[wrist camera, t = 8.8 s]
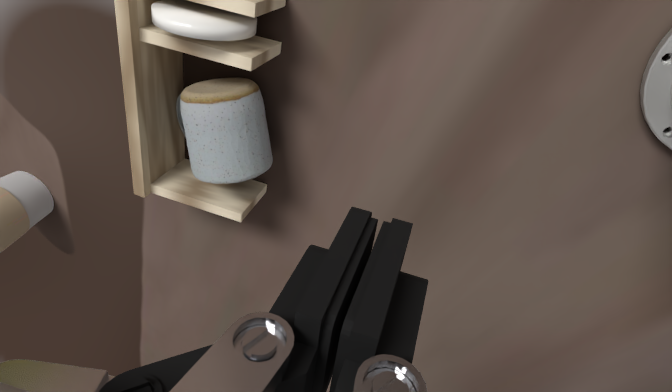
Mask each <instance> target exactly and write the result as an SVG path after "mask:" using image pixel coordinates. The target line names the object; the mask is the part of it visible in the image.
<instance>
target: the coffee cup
mask: <svg viewBox="0 0 672 392" xmlns="http://www.w3.org/2000/svg"><path fill="white" fill-rule="evenodd" d="M53 208H54V201H53V198H52V195H51V193H50V191H49V190H48V189H47V187H46V186H45V185H44V184H43V183H42V182H41V181H40V180H39V179H38V178H36V177H35V176H33V175H32V174H30V173H27V172H24V171H16V172H13V173H11V174H8V175H6V176H4V177H1V178H0V253H1V252H2V251H3V250H4V249H6V248H7V247H8V246H10V245H11V244H12V243H13V242H15V241H16V240H17V239H18V238H19V237H21V236H22V235H23V234H25V233H26V232H27V231H28V230H29V229H30V228H31V227H32V226H34V225H35V224H36V223H38V222H39V221H40V220H41V219H43V218H44V217H45V216H47V215H48V214H49V213H51V212H52V210H53Z"/></svg>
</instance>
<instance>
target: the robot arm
mask: <svg viewBox="0 0 672 392" xmlns="http://www.w3.org/2000/svg"><path fill="white" fill-rule="evenodd" d="M667 53H668V57H667V58H666V59H664V60H662V57H663V56H664V55H665V54H667ZM640 100H641V108H642V112H643V115H644V119H645V121H646V122H647V124H648V126H649V127H650V129H651V131H652V132H653V133H654V134H655V136H656V137H657V138H658V139H659V140H660V141H661V142H662V143H663V144H665V145H666V146H667V147H669V148H670V149H671V150H672V28H671V30H670V31H669V32H668V33H667V34H666V35H665V36H664V38H663V39H662V40H661V41H660V43H659V44H658V46H657V47H656V49H655V50H654V52H653V54H652V55H651V57H650V59H649V61H648V64H647V66H646V69H645V71H644V74H643V78H642V83H641V88H640ZM668 127H669V129H668V130H665V131H663V130H664V129H665V128H668ZM371 216H372V212H369V211H366V210H362V209H359V208H355V207H351V209H350V211H349V213H348V215H347V216H346V218H345V220H344V222H343V224H342V226H341V228H340V229H339V231H338V233H337V235H336V237H335V239H334V241H333V242H332V244H331V246H330V248H329V250H328V249H325V248H321V247H318V246H315V245H310V246H309V248H308V249H307V250H306V252H305V254H304V255H303V257H302V259H301V260H300V262H299V264H298V265H297V267H296V269H295V270H294V272H293V274H292V275H291V277H290V279H289V280H288V282H287V283H286V285H285V287H284V288H283V290H282V292H281V293H280V295H279V297H278V298H277V300H276V302H275V303H274V305H273V307H272V308H271V310H270V312H269V313H266V312H256V313H250V314H247V315H245V316H243V317H241V318H239V319H238V320H237V321H235V322H234V323H233V324H232V325H231V326H230V327H229V328H228V329H227V330H226V331H225V332H224V333H223V334H222V336H221V337H220V338H219V339H218V340H217V341H216V342H215V343H214V344H213V345H210V346H206V347H203V348H200V349H197V350H194V351H190V352H187V353H184V354H181V355H177V356H174V357H171V358H168V359H164V360H161V361H158V362H155V363H152V364H148V365H145V366H142V367H139V368H135V369H132V370H129V371H127V372H124V373H122V374H120V375H118V376H110V375H108V372H107V370H100V369H92V368H85V367H77V366H69V365H62V364H55V363H47V362H39V361H32V360H25V359H20V360H9V361H6V362H3V363H0V392H326V391H327V388H328V385H329V383H330V380H331V377H332V381H331V386H330V391H329V392H427V388H426V383H425V381H424V379H423V377H422V375H421V373H420V372H419V371H418V370H417V369H416V368H415V367H414V366H413V365H412V360H413V355H414V350H415V345H416V340H417V335H418V330H419V325H420V320H421V315H422V310H423V305H424V300H425V295H426V290H427V285H428V280H427V279H424V278H420V277H417V276H414V275H410V274H407V273H404V272H401V271H400V270H401V266H402V262H403V259H404V255H405V251H406V248H407V244H408V240H409V236H410V233H411V229H412V225H413V224H412V223H409V222H405V221H402V220H398V219H394V218H393V219H392V222H391V223H389V222H385V221H384V222H383V224H382V227H381V229H380V232H379V234H378V237H377V239H376V242H375V244H374V247H373V249H372V246H373V241H374V237H375V232H376V227H377V222H378V219H375V218H371ZM371 251H372V252H371Z"/></svg>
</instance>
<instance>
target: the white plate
mask: <svg viewBox="0 0 672 392" xmlns="http://www.w3.org/2000/svg"><path fill="white" fill-rule="evenodd" d="M151 13H152V22H153V24H154V25H156V26H157V27H159V28H160V29H162V30H165V31H167V32H170V33H173V34H177V35H181V36H185V37H190V38H196V39H203V40H213V41H235V40H243V39H248V38H251V37H253V36H254V35H255V34H256V29H257V18H256V17H255V18H254V17H250V16H246V15H242V14H238V13H234V12H231V11H227V10H223V9H219V8H215V7H211V6H207V5H203V4H200V3H196V2H192V1H188V0H161V1H157V2H154V3H153V4H152V5H151Z"/></svg>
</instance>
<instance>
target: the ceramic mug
mask: <svg viewBox="0 0 672 392" xmlns="http://www.w3.org/2000/svg"><path fill="white" fill-rule="evenodd" d="M176 111H177V118H178V122H179V125H180V128H181V130H182V132H183V134H184V136H185V138H186V140H187V147H188V152H189V158H190V164H191V169H192V173H193V175H194V176H195V178H197V179H199V180H200V181H203V182H207V183H213V184H230V183H238V182H243V181H246V180H249V179H253V178H255V177H257V176H259V175H261V174H263V173H264V172H266V171H267V170H268V169H269V168H270V167H271V165H272V162H273V157H272V152H271V146H270V140H269V133H268V128H267V122H266V117H265V107H264V102H263V98H262V95H261V92H260V89H259V87H258V85H257V84H256V83H255V82H254V81H252V80H250V79H246V78H219V79H211V80H206V81H201V82H197V83H194V84H192V85H190V86H188V87H186V88H185V89H184V90H183V91H182V93H181V94H180V95H179V96H178V98H177V102H176Z"/></svg>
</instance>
